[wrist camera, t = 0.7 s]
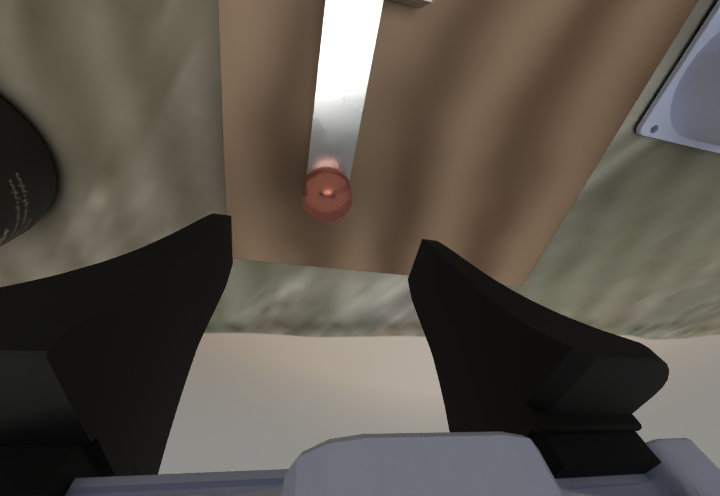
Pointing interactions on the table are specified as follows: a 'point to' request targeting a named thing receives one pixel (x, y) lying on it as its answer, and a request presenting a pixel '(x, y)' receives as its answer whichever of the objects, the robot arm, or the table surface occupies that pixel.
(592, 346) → the robot arm
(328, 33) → the lever
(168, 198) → the table surface
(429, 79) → the board
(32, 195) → the jar
